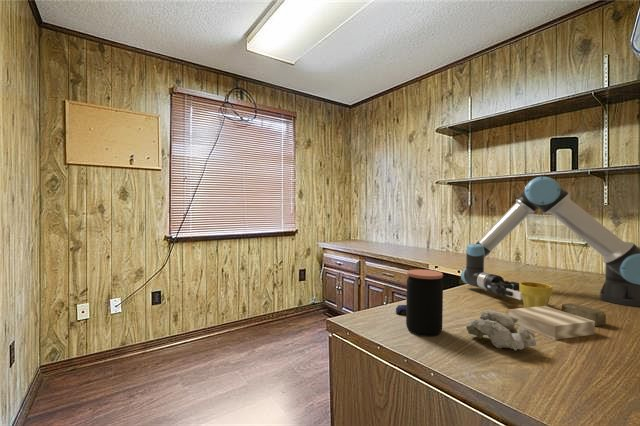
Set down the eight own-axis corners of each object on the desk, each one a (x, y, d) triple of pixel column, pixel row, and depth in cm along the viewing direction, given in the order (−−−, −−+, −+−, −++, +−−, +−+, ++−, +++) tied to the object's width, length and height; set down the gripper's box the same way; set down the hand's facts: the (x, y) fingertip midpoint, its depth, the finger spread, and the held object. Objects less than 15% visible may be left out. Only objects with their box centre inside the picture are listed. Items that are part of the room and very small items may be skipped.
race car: (391, 316, 113) (391, 304, 113) (390, 311, 120) (390, 299, 120) (436, 319, 111) (436, 306, 111) (432, 313, 117) (432, 301, 117)
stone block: (597, 328, 103) (597, 312, 103) (558, 317, 114) (558, 303, 114) (607, 325, 106) (607, 310, 106) (568, 315, 116) (569, 301, 116)
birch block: (544, 317, 113) (544, 305, 113) (594, 334, 98) (594, 321, 98) (508, 321, 109) (508, 309, 109) (554, 339, 93) (555, 326, 93)
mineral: (523, 355, 78) (534, 316, 80) (456, 329, 91) (467, 297, 94) (538, 366, 84) (547, 330, 87) (473, 341, 98) (483, 310, 101)
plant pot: (521, 312, 118) (522, 286, 118) (516, 304, 128) (516, 280, 128) (555, 316, 114) (556, 289, 114) (547, 308, 124) (547, 283, 124)
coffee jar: (441, 326, 103) (442, 270, 102) (442, 339, 93) (443, 277, 92) (407, 322, 106) (408, 268, 106) (404, 334, 96) (405, 274, 96)
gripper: (513, 289, 144) (560, 302, 124) (467, 292, 137) (508, 307, 117) (513, 272, 144) (560, 283, 124) (467, 275, 137) (509, 287, 117)
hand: (535, 295), depth 120 cm, fingers open, 13 cm apart
